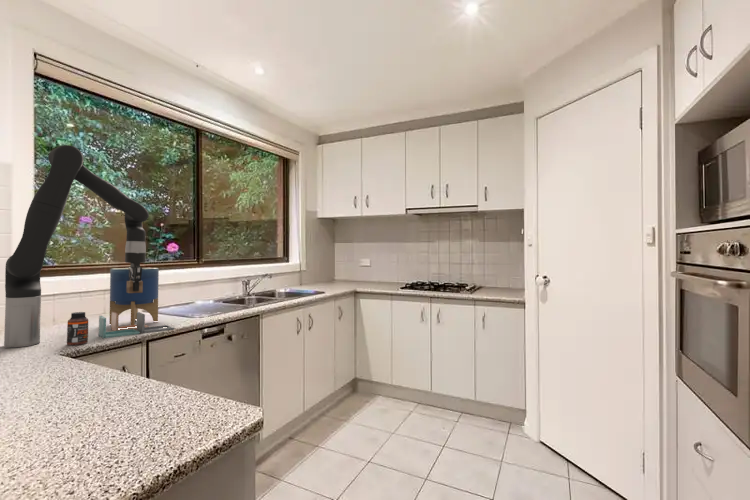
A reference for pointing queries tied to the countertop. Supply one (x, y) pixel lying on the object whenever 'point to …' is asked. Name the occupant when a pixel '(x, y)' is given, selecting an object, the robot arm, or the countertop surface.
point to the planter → (134, 301)
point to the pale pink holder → (115, 323)
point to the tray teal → (113, 333)
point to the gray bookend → (143, 329)
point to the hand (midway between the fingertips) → (134, 290)
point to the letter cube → (130, 287)
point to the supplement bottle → (77, 329)
